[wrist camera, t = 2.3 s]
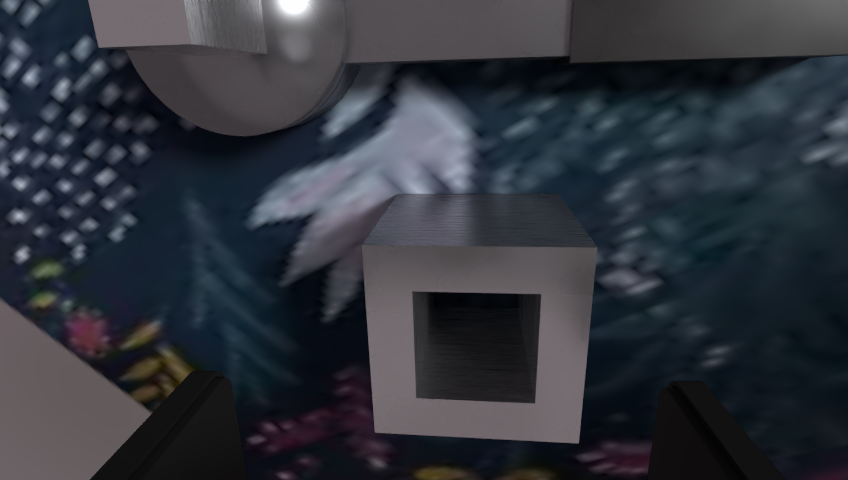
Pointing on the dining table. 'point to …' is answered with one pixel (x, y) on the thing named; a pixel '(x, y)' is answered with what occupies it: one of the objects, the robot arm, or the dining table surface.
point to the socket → (479, 316)
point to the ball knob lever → (424, 43)
